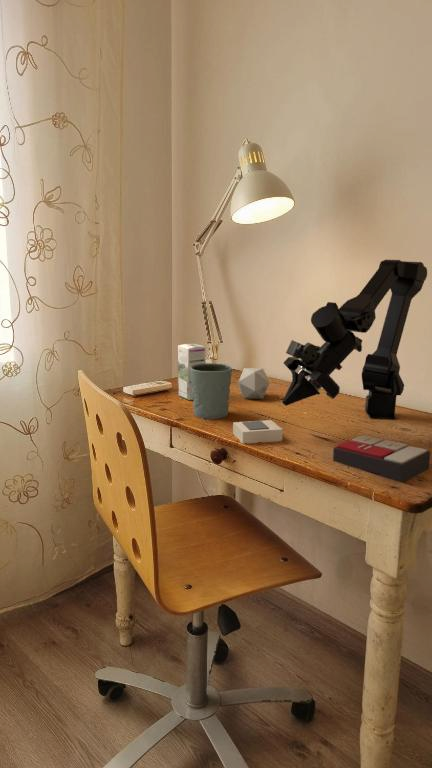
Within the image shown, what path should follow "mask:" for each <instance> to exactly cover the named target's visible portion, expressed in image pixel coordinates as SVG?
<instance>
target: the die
mask: <svg viewBox="0 0 432 768" xmlns="http://www.w3.org/2000/svg"><path fill="white" fill-rule="evenodd" d="M270 383H271V381H270V380H269V378H268V376H267V374H266V372H265V369H264V368H254V367H244V368H243V370H242V373H241V375H240V377H239V379H238V383H237V387H238V388H239V391H240V393H241V395H242V397H243V399H245V400H246V399H249V400H251V399H252V400H263V399H264V397H265V395H266V392H267V390H268V388H269V385H270Z"/></svg>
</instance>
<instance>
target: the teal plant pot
mask: <svg viewBox="0 0 432 768" xmlns="http://www.w3.org/2000/svg"><path fill="white" fill-rule="evenodd" d="M190 370H191V382H192V386H193V389H192V391H193V392H192V393H193V399H194V400H192V401H193V405H192V407H193V414H194V416H195V417H197V418H201V419H208V420H215V419H217V420H218V419H223V418H225V417H227V416H228V414H229V406H230V402H229V400H230V394H231V393H230V392H231V389H230V387H231V384H232V381H231V380H232V372H233V367H232V365H229V364H225V363H217V362H209V363H208V362H207V363H206V362H205V363H203V364H196V365H193V366H191V367H190Z"/></svg>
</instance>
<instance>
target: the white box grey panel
mask: <svg viewBox="0 0 432 768" xmlns="http://www.w3.org/2000/svg"><path fill="white" fill-rule="evenodd" d="M232 435H233V436H234V437H235V438H236V437H237V438H238V439H239V440H240V441H239V440H238V439H237V438H236V439H237V440H238V441H239V442H240V443H241V444H242V445H246V444H245V443H247V444H258V442H262V443H271V442H272V443H273V442H274V443H275V442H283V428H282V427H281V426H279V425H278V424H277V423H275V421H273V420H271V419H269V420H268V419H267V420H266V419H265V420H254V421H253V420H252V421H249V420H248V421H238V422H237V421H235V422H233V423H232Z"/></svg>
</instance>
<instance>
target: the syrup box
mask: <svg viewBox="0 0 432 768" xmlns="http://www.w3.org/2000/svg"><path fill="white" fill-rule="evenodd" d="M203 363H206V346H204V345H200V344H196V343H183V344H178V345H177V396H178V397H181V398H183V399H185V400H187V401H194V399H193V393H192V392H193V391H192V389H193V386H192V382H191V370H190V367H191V366H193V365H196V364H203Z"/></svg>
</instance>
